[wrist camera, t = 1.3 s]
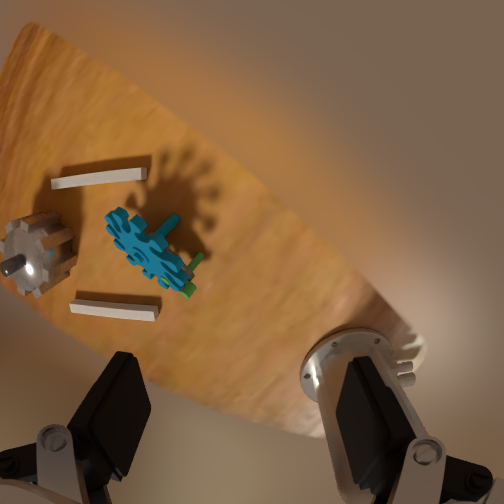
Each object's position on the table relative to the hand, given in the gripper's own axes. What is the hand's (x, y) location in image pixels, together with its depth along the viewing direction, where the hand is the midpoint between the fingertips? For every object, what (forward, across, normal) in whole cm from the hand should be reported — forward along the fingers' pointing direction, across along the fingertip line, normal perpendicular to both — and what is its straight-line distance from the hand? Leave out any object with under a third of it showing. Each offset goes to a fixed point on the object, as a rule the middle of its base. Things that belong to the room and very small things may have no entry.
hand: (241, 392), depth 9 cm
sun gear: (+20, +25, 0) cm, 32 cm away
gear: (+20, +9, 0) cm, 22 cm away
